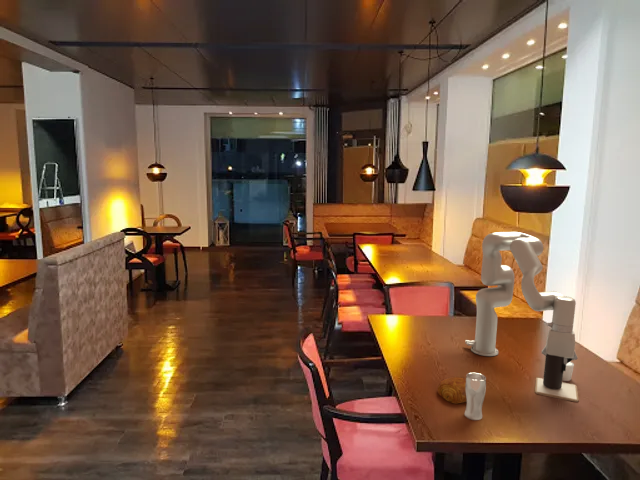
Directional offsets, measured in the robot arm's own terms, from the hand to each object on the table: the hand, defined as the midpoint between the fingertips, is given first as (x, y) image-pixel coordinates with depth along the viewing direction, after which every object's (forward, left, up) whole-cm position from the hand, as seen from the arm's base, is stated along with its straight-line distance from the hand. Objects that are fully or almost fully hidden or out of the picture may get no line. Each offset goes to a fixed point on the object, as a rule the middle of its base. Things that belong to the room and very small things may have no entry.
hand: (557, 371), depth 189 cm
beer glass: (-27, -37, -8) cm, 47 cm away
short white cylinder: (+3, +14, -8) cm, 16 cm away
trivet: (0, 0, -8) cm, 8 cm away
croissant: (-35, -24, -8) cm, 43 cm away
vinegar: (-1, +1, -7) cm, 7 cm away
